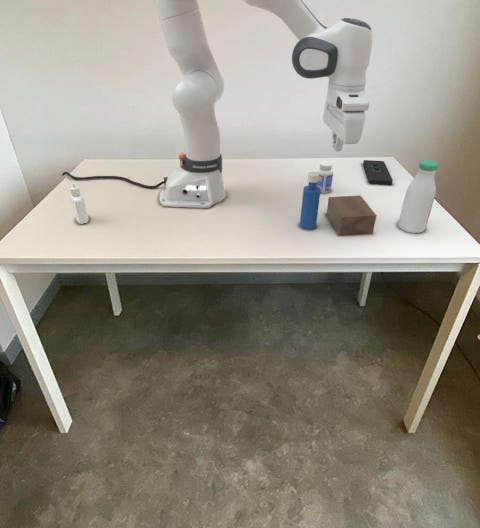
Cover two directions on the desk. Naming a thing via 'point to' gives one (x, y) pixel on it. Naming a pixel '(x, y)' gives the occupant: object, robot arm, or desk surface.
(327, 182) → the pill bottle
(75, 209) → the eye dropper bottle
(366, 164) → the smart home device
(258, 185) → the desk surface
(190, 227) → the desk surface
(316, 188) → the bottle
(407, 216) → the milk bottle
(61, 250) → the desk surface
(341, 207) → the wooden box
